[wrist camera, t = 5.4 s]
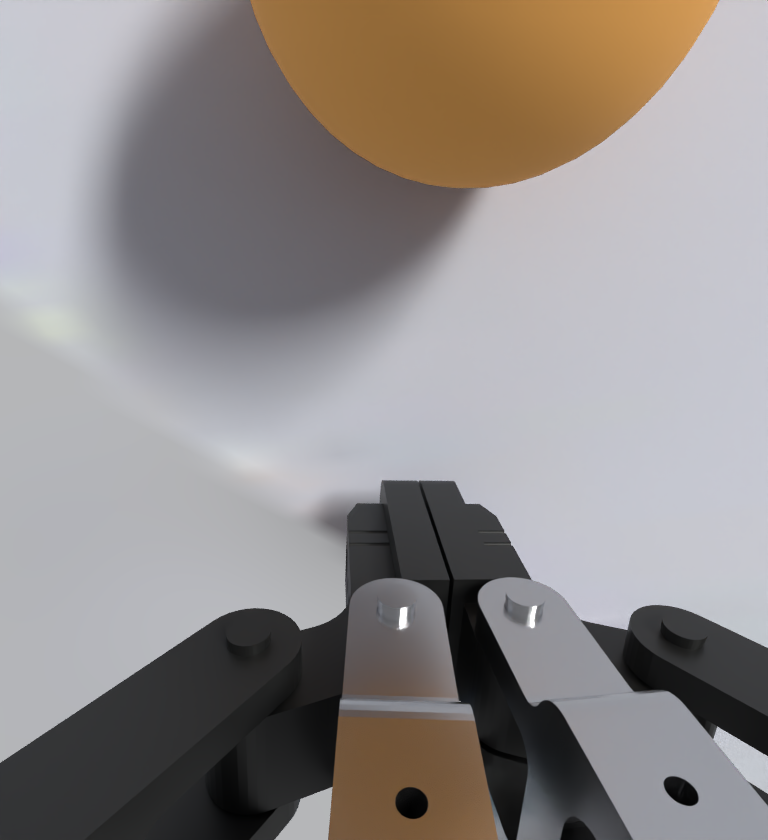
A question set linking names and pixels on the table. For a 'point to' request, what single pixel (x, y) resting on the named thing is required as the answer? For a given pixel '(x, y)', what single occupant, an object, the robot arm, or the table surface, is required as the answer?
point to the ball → (477, 77)
